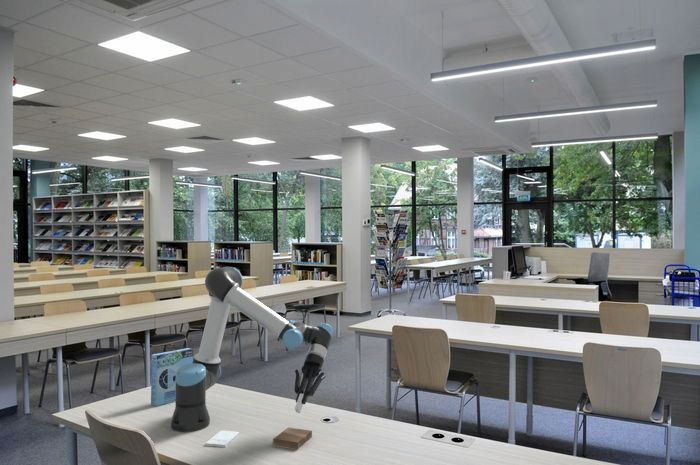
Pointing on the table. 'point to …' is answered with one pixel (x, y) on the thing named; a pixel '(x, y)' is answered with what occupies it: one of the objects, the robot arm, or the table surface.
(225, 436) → the external hard drive
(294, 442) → the walnut tile
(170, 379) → the gum box
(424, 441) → the table surface
